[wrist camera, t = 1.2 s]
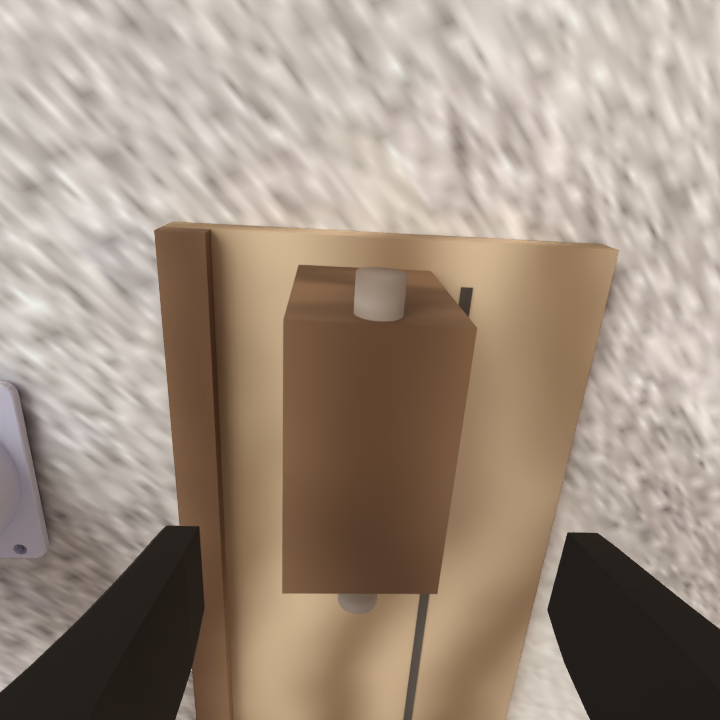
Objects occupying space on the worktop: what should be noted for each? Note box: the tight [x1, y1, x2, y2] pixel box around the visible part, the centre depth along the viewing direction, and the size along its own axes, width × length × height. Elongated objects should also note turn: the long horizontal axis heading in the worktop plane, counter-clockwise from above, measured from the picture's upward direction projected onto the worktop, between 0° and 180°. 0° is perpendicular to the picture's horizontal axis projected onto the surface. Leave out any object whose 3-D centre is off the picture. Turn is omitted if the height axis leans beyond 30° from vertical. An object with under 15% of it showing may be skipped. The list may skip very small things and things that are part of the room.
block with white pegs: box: [282, 265, 477, 614], centre depth 16 cm, size 4×10×6 cm, turn 177°
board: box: [154, 222, 619, 720], centre depth 22 cm, size 15×27×3 cm, turn 177°
